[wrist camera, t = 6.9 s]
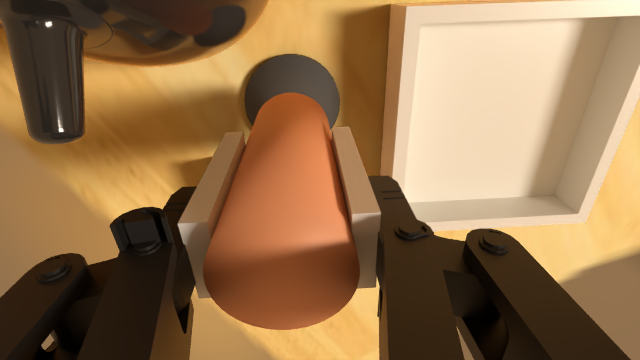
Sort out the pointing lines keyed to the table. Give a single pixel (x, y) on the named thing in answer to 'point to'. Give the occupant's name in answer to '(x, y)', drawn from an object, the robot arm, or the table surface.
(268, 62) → the pin pad
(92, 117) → the table surface
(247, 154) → the pin
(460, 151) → the dock cradle
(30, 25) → the dark piece
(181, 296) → the robot arm
